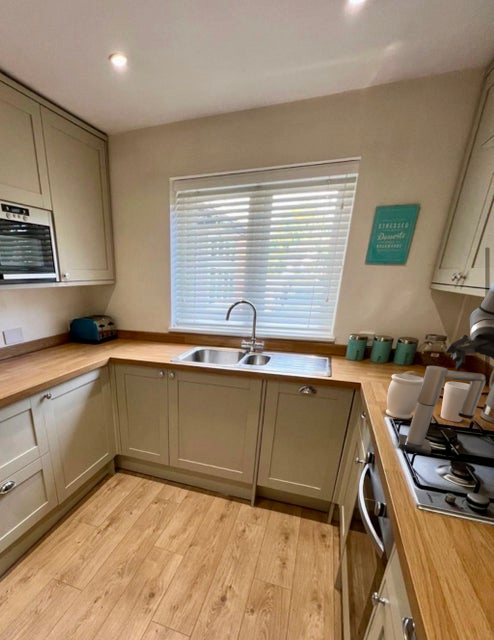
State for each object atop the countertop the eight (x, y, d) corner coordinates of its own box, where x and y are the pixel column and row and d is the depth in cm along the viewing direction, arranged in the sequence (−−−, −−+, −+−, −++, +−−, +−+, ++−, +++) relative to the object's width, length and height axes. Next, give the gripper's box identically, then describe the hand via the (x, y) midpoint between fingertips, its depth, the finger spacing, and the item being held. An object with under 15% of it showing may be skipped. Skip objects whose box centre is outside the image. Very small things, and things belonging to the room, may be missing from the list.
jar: (385, 417, 123) (395, 379, 118) (379, 408, 132) (389, 372, 127) (418, 422, 120) (430, 383, 114) (410, 412, 129) (420, 375, 124)
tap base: (427, 444, 104) (441, 402, 99) (429, 455, 97) (444, 410, 92) (398, 437, 107) (410, 397, 102) (398, 447, 101) (410, 404, 96)
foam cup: (439, 411, 130) (450, 380, 126) (469, 419, 124) (481, 386, 119) (432, 417, 124) (442, 384, 120) (462, 425, 118) (475, 391, 113)
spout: (470, 414, 96) (485, 371, 91) (476, 420, 92) (492, 375, 87) (413, 406, 101) (425, 365, 96) (416, 411, 97) (429, 368, 92)
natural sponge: (419, 391, 154) (425, 370, 150) (420, 396, 147) (426, 375, 143) (397, 387, 159) (402, 367, 155) (396, 392, 152) (402, 371, 148)
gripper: (525, 360, 100) (534, 403, 87) (434, 334, 109) (430, 369, 96) (546, 340, 95) (558, 382, 82) (448, 314, 103) (445, 348, 91)
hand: (489, 375), depth 89 cm, fingers open, 13 cm apart
